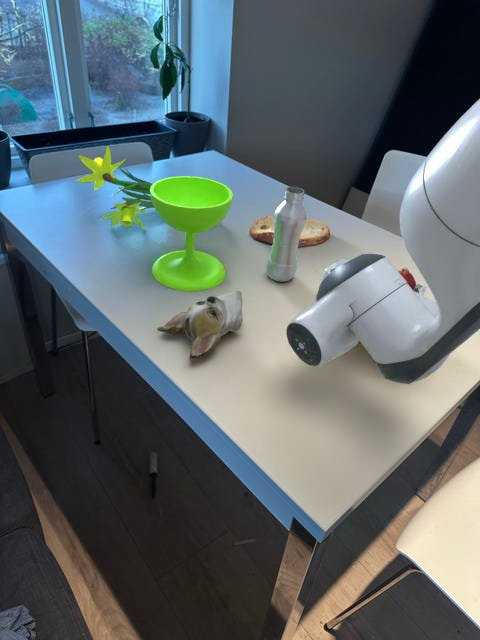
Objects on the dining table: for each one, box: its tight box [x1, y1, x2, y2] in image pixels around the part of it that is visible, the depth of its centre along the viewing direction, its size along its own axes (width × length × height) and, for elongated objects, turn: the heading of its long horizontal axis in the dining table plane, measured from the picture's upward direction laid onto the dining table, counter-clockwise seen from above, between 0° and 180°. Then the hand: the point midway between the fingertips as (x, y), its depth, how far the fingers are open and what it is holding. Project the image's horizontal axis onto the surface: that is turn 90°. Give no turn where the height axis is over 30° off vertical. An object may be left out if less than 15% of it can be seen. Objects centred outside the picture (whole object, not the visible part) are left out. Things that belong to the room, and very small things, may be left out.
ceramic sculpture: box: [156, 290, 244, 360], centre depth 78 cm, size 11×9×15 cm
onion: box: [398, 267, 417, 291], centre depth 81 cm, size 6×6×8 cm
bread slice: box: [248, 215, 331, 248], centre depth 115 cm, size 18×18×4 cm
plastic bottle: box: [266, 186, 307, 282], centre depth 93 cm, size 6×7×20 cm
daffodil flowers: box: [75, 145, 156, 230], centre depth 110 cm, size 17×15×35 cm
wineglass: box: [149, 175, 234, 292], centre depth 92 cm, size 16×16×18 cm
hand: (403, 280), depth 81 cm, fingers closed on onion, 5 cm apart
